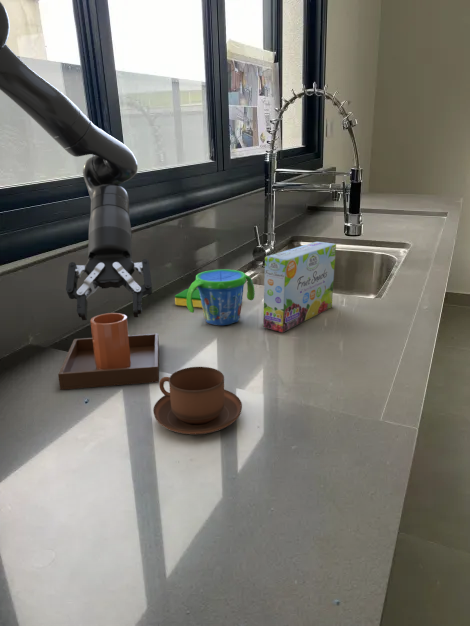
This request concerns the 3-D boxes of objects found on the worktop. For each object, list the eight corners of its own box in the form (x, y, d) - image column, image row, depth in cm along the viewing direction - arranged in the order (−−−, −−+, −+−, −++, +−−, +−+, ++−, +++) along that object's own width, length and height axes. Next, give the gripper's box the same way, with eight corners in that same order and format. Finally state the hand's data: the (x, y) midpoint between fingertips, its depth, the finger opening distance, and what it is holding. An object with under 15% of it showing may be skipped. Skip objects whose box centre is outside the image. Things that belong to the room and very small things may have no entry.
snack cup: (197, 334, 99) (195, 285, 96) (179, 319, 108) (176, 274, 105) (265, 322, 105) (265, 275, 102) (243, 308, 114) (243, 265, 111)
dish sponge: (188, 297, 124) (187, 287, 123) (239, 302, 119) (239, 292, 119) (174, 305, 118) (174, 295, 117) (228, 311, 113) (228, 300, 112)
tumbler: (94, 374, 81) (88, 325, 78) (98, 360, 86) (93, 314, 84) (130, 371, 82) (125, 323, 79) (132, 357, 87) (127, 311, 85)
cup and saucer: (142, 440, 63) (138, 397, 61) (167, 396, 74) (165, 358, 72) (235, 446, 62) (234, 401, 60) (246, 399, 73) (246, 361, 71)
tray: (60, 389, 77) (57, 374, 76) (75, 352, 91) (74, 338, 90) (158, 382, 79) (157, 366, 78) (159, 346, 93) (158, 333, 92)
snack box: (285, 334, 98) (286, 259, 94) (262, 328, 102) (262, 256, 97) (334, 307, 114) (337, 242, 110) (312, 303, 118) (314, 239, 113)
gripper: (65, 226, 86) (60, 309, 79) (148, 223, 88) (151, 303, 80) (73, 250, 92) (70, 329, 85) (151, 247, 94) (154, 323, 87)
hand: (110, 316), depth 83 cm, fingers open, 8 cm apart
